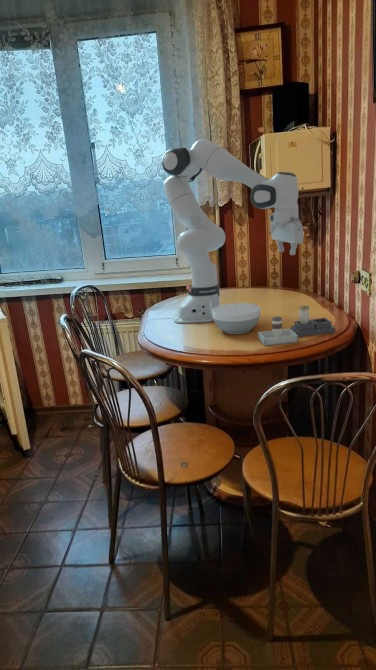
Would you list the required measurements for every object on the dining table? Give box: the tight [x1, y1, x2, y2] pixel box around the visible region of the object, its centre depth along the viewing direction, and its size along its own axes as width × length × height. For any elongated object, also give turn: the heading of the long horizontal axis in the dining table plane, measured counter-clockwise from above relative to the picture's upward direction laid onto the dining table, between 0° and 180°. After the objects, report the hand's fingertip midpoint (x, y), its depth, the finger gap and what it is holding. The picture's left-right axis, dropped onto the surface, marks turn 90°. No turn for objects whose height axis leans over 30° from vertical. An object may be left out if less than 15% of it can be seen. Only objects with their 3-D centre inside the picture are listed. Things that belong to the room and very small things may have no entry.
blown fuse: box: [271, 315, 283, 338], centre depth 168 cm, size 4×4×8 cm
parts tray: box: [257, 328, 299, 347], centre depth 169 cm, size 12×9×2 cm
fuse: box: [298, 305, 310, 325], centre depth 173 cm, size 4×4×8 cm
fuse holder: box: [290, 317, 336, 338], centre depth 175 cm, size 14×8×4 cm, turn 97°
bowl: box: [212, 302, 261, 335], centre depth 184 cm, size 19×19×9 cm
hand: (286, 253), depth 182 cm, fingers open, 8 cm apart
